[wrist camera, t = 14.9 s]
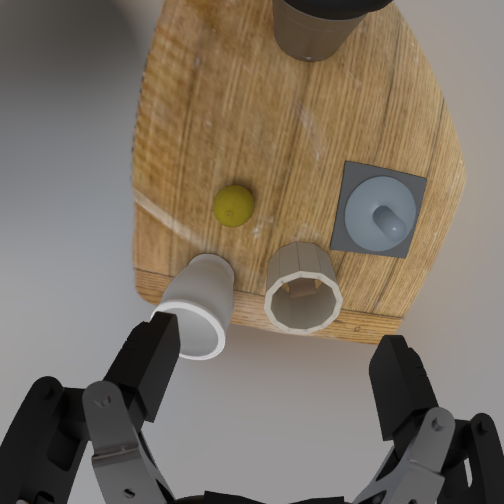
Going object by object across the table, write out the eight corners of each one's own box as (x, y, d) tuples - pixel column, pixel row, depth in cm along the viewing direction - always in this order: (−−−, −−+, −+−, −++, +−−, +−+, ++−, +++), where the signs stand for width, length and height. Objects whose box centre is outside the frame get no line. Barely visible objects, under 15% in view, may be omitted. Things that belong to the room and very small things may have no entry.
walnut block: (286, 263, 45) (286, 276, 41) (309, 258, 44) (312, 271, 41) (290, 283, 47) (291, 297, 43) (313, 279, 46) (316, 292, 42)
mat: (344, 160, 36) (345, 161, 36) (425, 178, 36) (427, 179, 35) (329, 247, 43) (330, 249, 42) (404, 256, 42) (405, 258, 41)
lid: (351, 169, 36) (364, 179, 30) (420, 184, 36) (442, 196, 30) (337, 244, 42) (346, 266, 36) (402, 252, 41) (418, 273, 35)
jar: (246, 296, 48) (234, 359, 35) (193, 301, 50) (167, 360, 37) (232, 242, 44) (211, 298, 31) (174, 251, 46) (137, 304, 33)
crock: (271, 238, 43) (269, 267, 35) (338, 246, 42) (350, 276, 34) (264, 295, 48) (261, 329, 40) (324, 300, 47) (331, 335, 39)
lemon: (262, 188, 40) (258, 204, 32) (247, 220, 42) (240, 242, 35) (227, 174, 39) (215, 186, 32) (214, 206, 42) (200, 225, 34)
